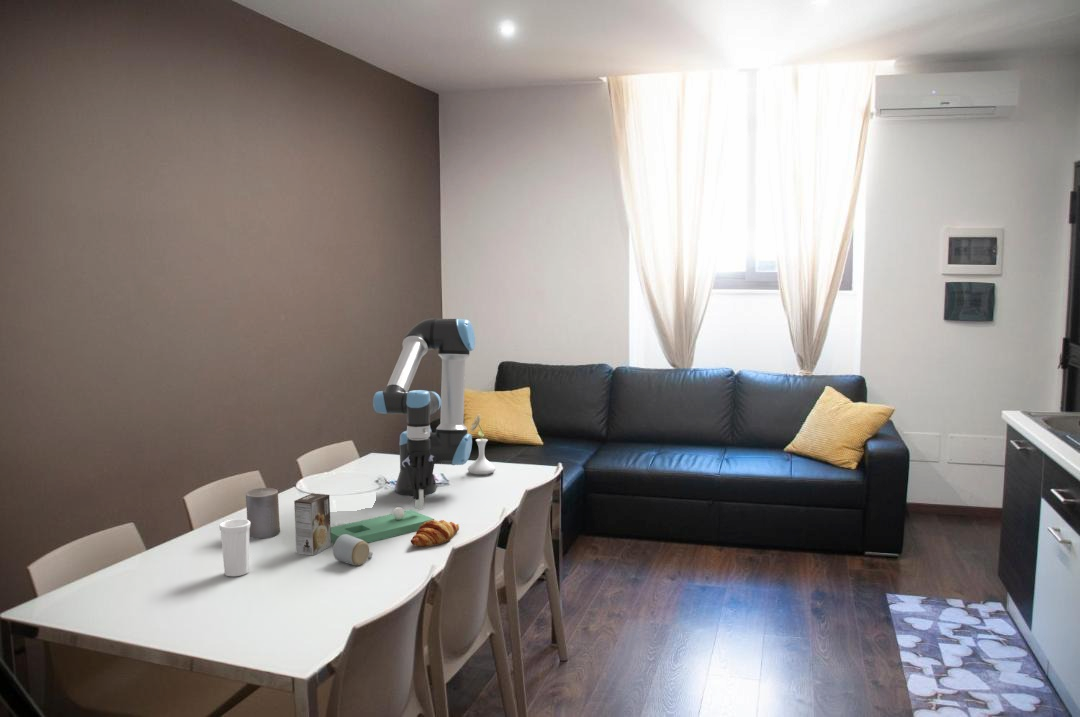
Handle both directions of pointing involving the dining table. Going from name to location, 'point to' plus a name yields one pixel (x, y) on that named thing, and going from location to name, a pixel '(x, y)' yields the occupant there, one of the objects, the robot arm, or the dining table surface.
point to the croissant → (434, 533)
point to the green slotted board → (381, 527)
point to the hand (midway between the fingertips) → (419, 508)
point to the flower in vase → (480, 453)
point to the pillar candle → (263, 512)
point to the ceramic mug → (351, 550)
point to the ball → (398, 513)
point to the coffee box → (312, 524)
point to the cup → (235, 546)
